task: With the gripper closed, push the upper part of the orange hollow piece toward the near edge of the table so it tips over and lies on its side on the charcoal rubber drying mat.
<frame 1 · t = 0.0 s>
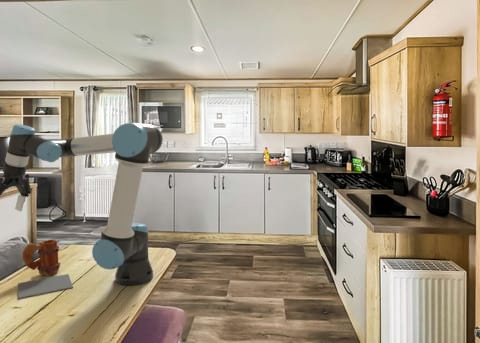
hand: (4, 213, 141), 28 cm above the table, tool tilted 20°, fingers open, 13 cm apart
drying mat: (45, 286, 138), on the table
orange hollow piece: (43, 276, 149), on the table
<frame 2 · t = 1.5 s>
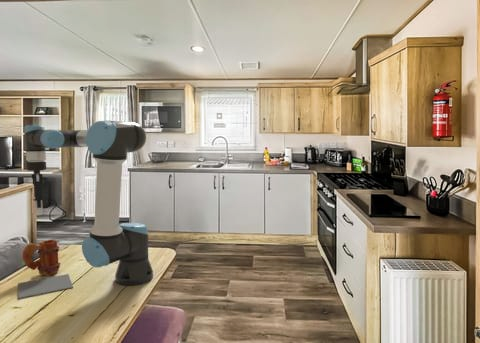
hand: (39, 213, 155), 25 cm above the table, tool pointing down, fingers open, 6 cm apart
nothing on the table moved.
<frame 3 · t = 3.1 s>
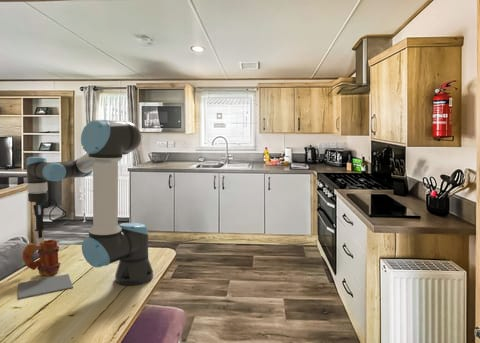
hand: (40, 244, 156), 11 cm above the table, tool pointing down, fingers closed
nothing on the table moved.
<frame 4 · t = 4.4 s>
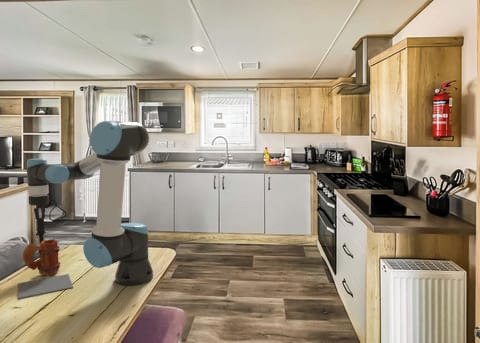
hand: (41, 248, 152), 10 cm above the table, tool pointing down, fingers closed
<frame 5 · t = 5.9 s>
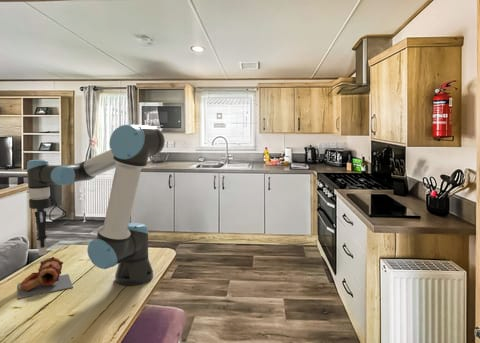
hand: (42, 254, 145), 10 cm above the table, tool pointing down, fingers closed
orange hollow piece: (45, 266, 147), point 4 cm above the table, touching drying mat
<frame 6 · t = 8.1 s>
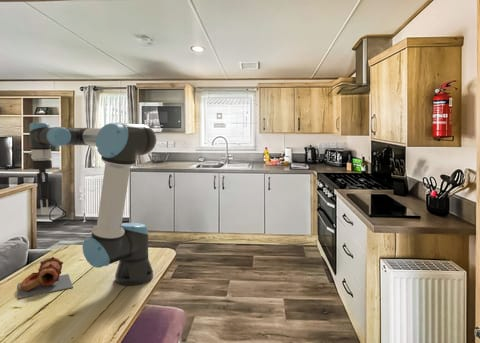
hand: (44, 214, 151), 25 cm above the table, tool pointing down, fingers closed
nothing on the table moved.
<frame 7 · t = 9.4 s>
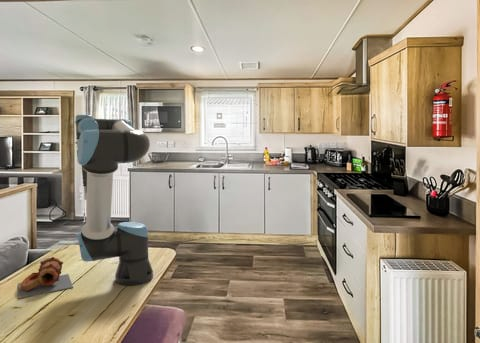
hand: (87, 199, 164), 29 cm above the table, tool pointing down, fingers closed
nothing on the table moved.
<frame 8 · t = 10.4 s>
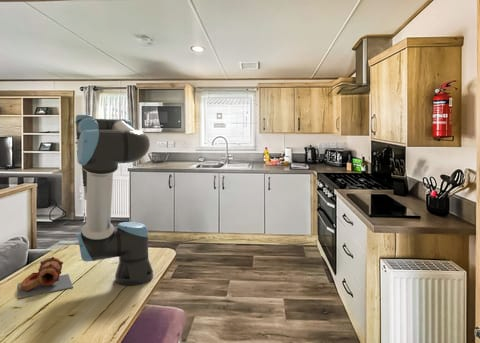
hand: (87, 199, 164), 29 cm above the table, tool pointing down, fingers closed
nothing on the table moved.
at the end: orange hollow piece tilted 93°; orange hollow piece touching drying mat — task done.
